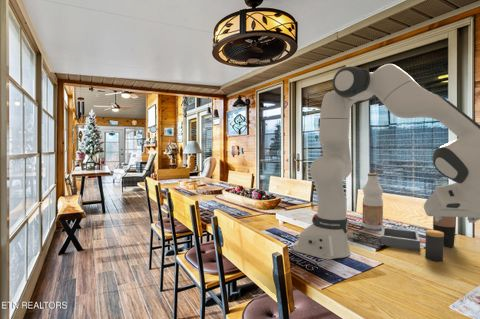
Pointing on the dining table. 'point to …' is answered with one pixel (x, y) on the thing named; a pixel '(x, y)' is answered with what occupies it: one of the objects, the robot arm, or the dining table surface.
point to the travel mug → (446, 229)
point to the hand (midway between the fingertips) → (454, 220)
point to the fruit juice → (373, 203)
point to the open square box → (400, 238)
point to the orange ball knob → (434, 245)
